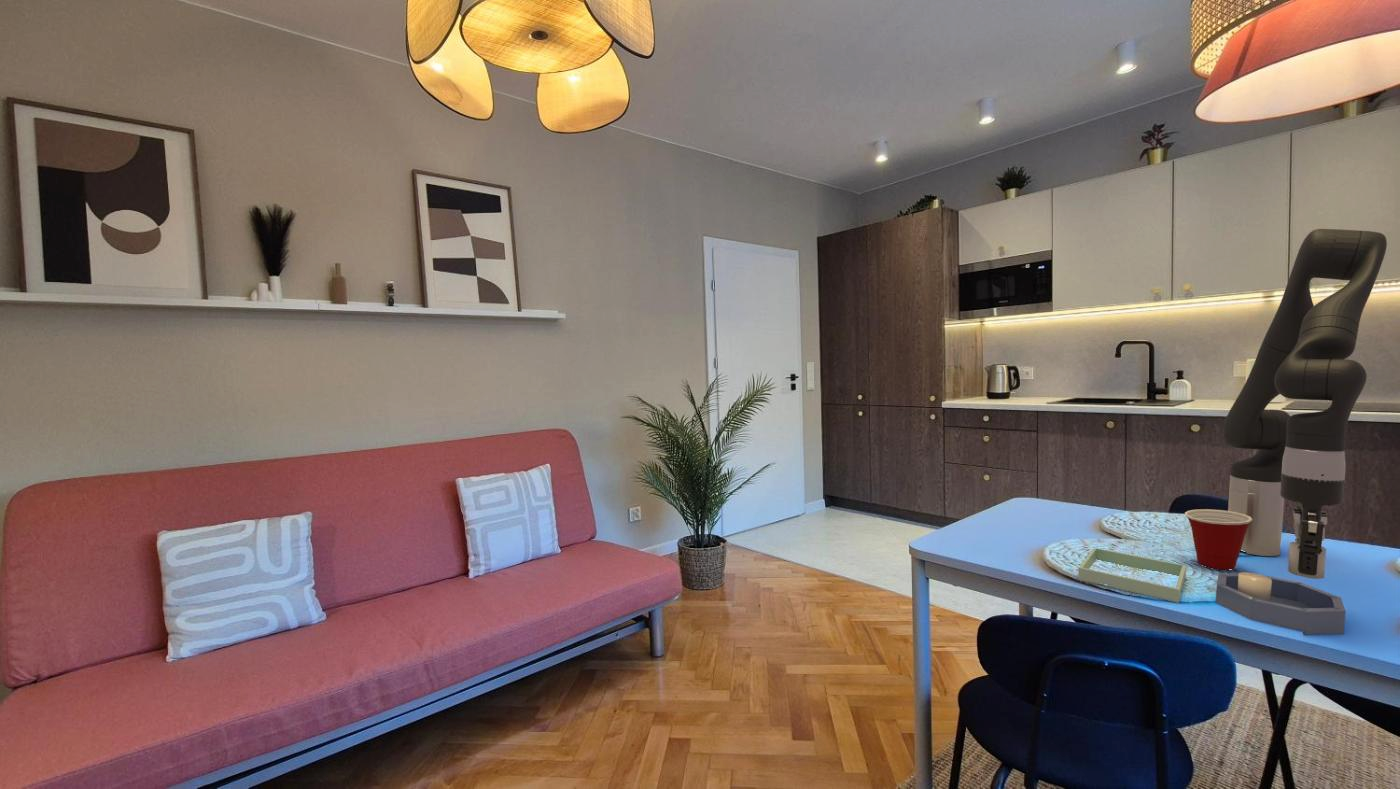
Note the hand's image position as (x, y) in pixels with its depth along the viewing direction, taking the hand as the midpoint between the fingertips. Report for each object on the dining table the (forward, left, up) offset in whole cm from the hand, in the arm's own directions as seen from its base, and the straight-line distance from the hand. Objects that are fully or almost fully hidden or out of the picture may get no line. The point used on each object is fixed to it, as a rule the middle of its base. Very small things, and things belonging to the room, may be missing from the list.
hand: (1305, 569), depth 101 cm
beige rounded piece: (0, 0, -1) cm, 1 cm away
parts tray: (0, -24, -9) cm, 26 cm away
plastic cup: (-20, -12, -9) cm, 25 cm away
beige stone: (0, -6, -8) cm, 10 cm away
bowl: (0, -3, -9) cm, 10 cm away
